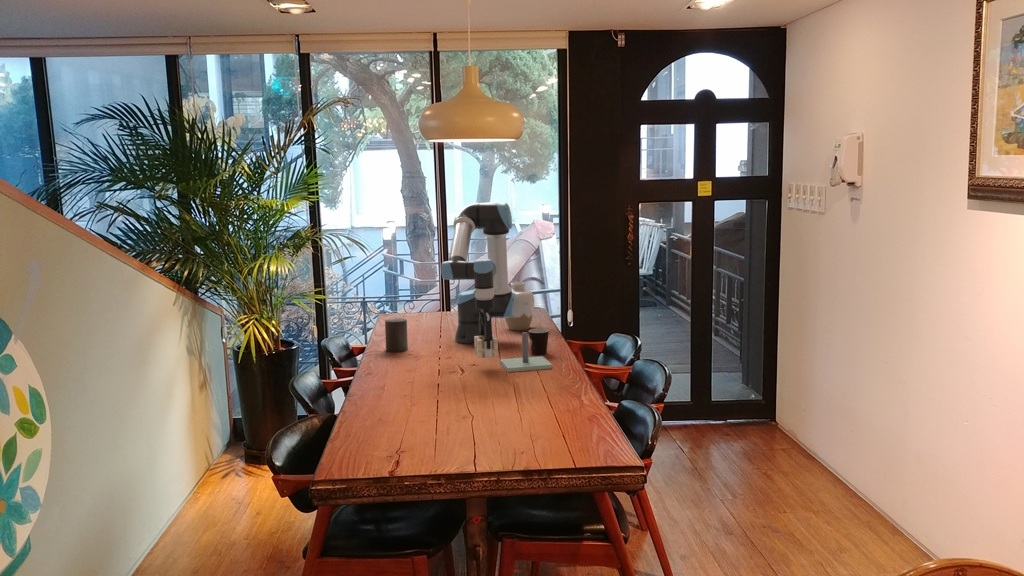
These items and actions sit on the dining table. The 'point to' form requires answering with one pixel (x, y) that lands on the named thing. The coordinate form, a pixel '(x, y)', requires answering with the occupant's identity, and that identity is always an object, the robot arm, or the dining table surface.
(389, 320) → the pillar candle
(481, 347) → the wooden square ring
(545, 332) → the coffee mug
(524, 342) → the rod stand
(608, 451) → the dining table surface
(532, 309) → the vase
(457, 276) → the robot arm
